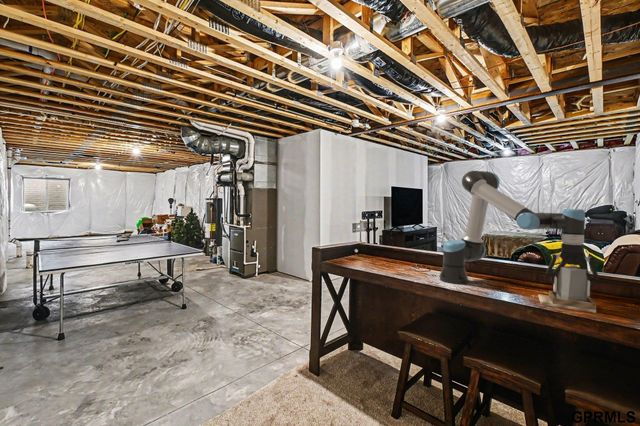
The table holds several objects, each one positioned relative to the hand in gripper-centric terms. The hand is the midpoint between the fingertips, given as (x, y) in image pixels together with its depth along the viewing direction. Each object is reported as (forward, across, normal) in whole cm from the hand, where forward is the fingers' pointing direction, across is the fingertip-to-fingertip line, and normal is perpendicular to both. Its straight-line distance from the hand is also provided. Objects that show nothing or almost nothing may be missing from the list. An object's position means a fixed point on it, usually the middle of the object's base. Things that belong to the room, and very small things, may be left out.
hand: (570, 293), depth 127 cm
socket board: (+5, -2, 0) cm, 6 cm away
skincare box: (+4, 0, 0) cm, 4 cm away
